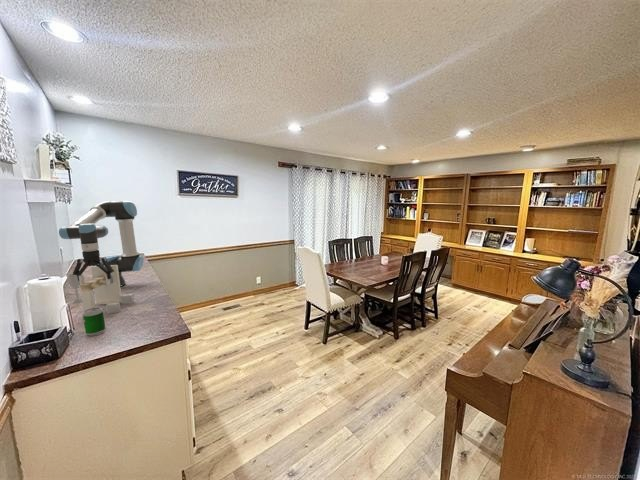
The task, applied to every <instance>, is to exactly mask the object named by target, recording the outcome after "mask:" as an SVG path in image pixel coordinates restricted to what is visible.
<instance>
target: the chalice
mask: <svg viewBox="0 0 640 480" xmlns="http://www.w3.org/2000/svg"><path fill="white" fill-rule="evenodd" d="M66 277H67V282H68V285H69V286H70V287H71V288H72V289H73V290H74V293H75V298H74V299H73V302H72V303H73V304H78V303H83V300H82V297H79V294H80V293H79V291H78V289H79V288H80V281H78V278H77V275H73V273H71V274H66Z"/></svg>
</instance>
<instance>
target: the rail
mask: <svg viewBox="0 0 640 480" xmlns="http://www.w3.org/2000/svg"><path fill="white" fill-rule="evenodd" d="M105 283H106V279H105V276H99V277H97V278H95V279H93V278H92V279H90V280H88V281H85V283H83V284H81V285H80V286H79V288H80V292H84V291H91V290H93V291H94V289H95V288H97V287H99V286H101V285H103V284H105Z"/></svg>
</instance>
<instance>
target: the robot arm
mask: <svg viewBox="0 0 640 480" xmlns="http://www.w3.org/2000/svg"><path fill="white" fill-rule="evenodd" d="M137 215H138V209H137V207H136V204H134V202H133V201H130V200H106V201H102V202H99V203H97V204H95V205H94V206H92V207H91V208H90V209H89V212H87V213H86V214H84V215H83V216H82V217H80V218H79V219H78V220H76V221H75V222H74V223H72V224H71V225H69V226H67V225H66V226H62V227H60V228H59V230H58V235H59V237H60V239H63V240H79V239H80V245H81V247H80V248H81V251H82V257H83V258H78V259H76V260H77V261H76V265H75V268H74V270H73V272H72V274H73V275H77V278H78V281H80V285H81V284H83V283H86V281H85V277H84V276H85V275H84V274H83V273H84V272H85V271H86V269H88V268H89V267H92V266H97V267H99V268H100V269H101V270H103V271H104V272H105V273H106V274H105V279H106V285H109V284H110V279H111V273H112V272H114V270H113V269H112V267H111V266H110V265H118V271H119V279H120V286H121V285H124V284H125V283H126V280H125V277H124V276H123V274H122V273H130V272H131V273H133V272H139V271H141V270H142V269H143V265H144V262H145V261H144V257H143V256H142V255H140V252H138V251H137V243H136V237H135V231H134V224H133V223H134V220H135V217H137ZM105 218H115V220H116V221H117V222H118V227H119V229H118V230H119V235H120V241H121V248H122V253H121V254H114V255H109V256H106V257H105V256H104V257H102V258H101V256H100V255H101V254H100V247H99V241H98V239H100V238H101V239H102V238H104V237H106V236H108V234H109V229H108V227H106V225H102V224H97V223H98V222H99V221H101V220H103V219H105ZM96 224H97V225H96ZM83 262H84V263H83ZM125 285H126V284H125ZM125 285H124V286H125ZM121 287H122V286H121Z"/></svg>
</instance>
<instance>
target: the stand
mask: <svg viewBox="0 0 640 480" xmlns="http://www.w3.org/2000/svg"><path fill="white" fill-rule="evenodd" d="M120 298H121V302H120V303H108V304H105V311H106V312H105V313H106V314H112V313H113V314H115V313H118V314H119V312H121V305H122V304H132V303H134V302H135V301H134V294H133V293H129V294H121V296H120Z"/></svg>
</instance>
